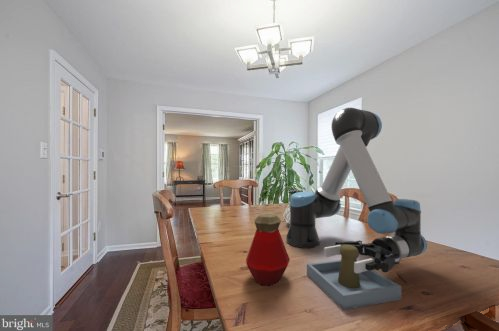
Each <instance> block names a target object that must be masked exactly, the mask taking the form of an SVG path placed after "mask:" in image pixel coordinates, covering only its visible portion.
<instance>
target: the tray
mask: <svg viewBox="0 0 499 331" xmlns="http://www.w3.org/2000/svg"><path fill="white" fill-rule="evenodd" d="M340 263H341V259H338V260H337V259H336V260H329V261H320V262H310V263H306V275H307V276H308V277H309V278H310V279H311V280H312V281H313V282H314V284H316V285H317V286H318V287H319V288H320V289H321V290H322V291H323V292H324V293H325V294H326V295H328V296H329V298H330V299H331V300H333V301H334V303H336V305H338V306H339V307H340V308H341V309H342V310H343V311H346V310H350V309H349V308H352V309H358V308H362V306H363V307H367V306H368V305H369V306H372V305H373V304H374V305H378V304H379V303H380V304H384V303H388V302H389V303H390V302H391V303H392V302H395V301H396V302H397V301H401V300H402V286H401V285H399V284H398V283H396V282H394V281H393V280H391V279H389V278H388V277H386V276H384V275H382V274H381V273H379V272H377V270H376V271H375V269H374V270H368V271H364V272H360V273H359V280H360V287H359V288H347V287H344V286H342V285H341V284H340V283H339V282H338V277H339V270H340ZM380 304H379V305H380ZM374 305H373V306H374ZM355 307H356V308H355ZM345 309H346V310H345Z"/></svg>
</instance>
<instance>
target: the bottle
mask: <svg viewBox="0 0 499 331" xmlns="http://www.w3.org/2000/svg"><path fill="white" fill-rule="evenodd" d="M253 221H254V225H255V228H256V230H255V233H254V236H253V239H252V242H251V244H250V247H249V250H248V252H247V254H246V255H247V256H246V259H245V262H246V266H247V268H248V271H249V272H250V274H251V277H252V278H253V280H254V282H255V283H257V284H259V285H260V286H266V287H272V286H275V285H277V284H278V283H280V281H281V280H282V278H283V276H284V274H285V271H286V270H287V268H288V266H289V264H290V260H291V259H290V257H289V254H288V252H287V249H286V248H287V247H286V246H285V243H284V240H283V238H282V236H281V232H280V230H279V228H280V224H281V222H282V220H281V218H280V217H279V216H278V215H277V214H276V213H273V212H263V214H262V213H260V214H258V215H257V217H256V218H254V219H253Z"/></svg>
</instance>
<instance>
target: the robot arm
mask: <svg viewBox="0 0 499 331" xmlns="http://www.w3.org/2000/svg"><path fill="white" fill-rule="evenodd" d="M382 125H383V124H382V120H381V117H380V116H379V115H378V114H377V113H374V112H372V111H371V110H370V111H368V110H365V109H360V108H355V107H346V108H343V109H341V110H339V111H338V112H337V113H336V114H335V115H334V117H333V118H332V121H331V134H332V136H333V138H334V141H335V143H336V144H337V145H338V146H339V147H338V150H337V151H336V154H335V156H334V158H333V160H332V163H331V165H330V166H329V170H328V171H327V174H326V176H325V178H324V181H323V182H322V185H320V186H318V187H317V188H316V190H315V192H313V191H298V192H295V193H293V194H292V193H291V195H290V200H289V201H290V202H289V227H288V231H287V233H286V236H285V237H286V239H285V240H286V243H287V244H288V245H290V246H293V247H297V248H303V249H311V248H317V247H318V246H319V245H320V237H319V235H318V231H317V228H316V219H320V218H328V217H329V218H330V217H333V216H335V215H337V214H338V213H339V212H340V210H341V206H342V204H341V194H340V193H341V190H342V189H343V187H344V184H345V182H346V180H347V179H348V176H349V175H350V172H352V175H353V177H354V179H355V182H356V184H357V186H358V189H359V190H360V193H361V196H362V197H363V199H364V201H365V205H366V206H367V208H368V211H369V213H368V214H367V218H366V219H367V220H366V222H367V224H368V226H369V228H370V229H371V230H372V231H373V232H375V233H376V234H381V235H382V234H383V235H384V234H391V235H387V236H383V237H377V238H374V239H373V240H372V241H371V243H369V242H368V243H363V241H362V240H354V241H353V240H352V241H351V240H350V241H335V242H334V243H335V244H334V245H330V246H325V247H324V248H323V250H324V251H323V253H324V254H323V256H324V258H328V257H331V256H333V257H334V256H337V255H341V254H340V247H341V246H342V245H352V246H355V247H356V248H357V249H358V252H359V255H361V256H365V257H366V256H367V257H370V258H367V259H362V260H357V262H354V272H355V273H356V274H357V273H360V272H364V271H368V270H374V271H375V270H376V271H380V270H381V271H382V272H383V273H386V274H387V273H388V272H390V270H392V268H394V266H395V265H400V260H401V259H408V258H410V257H416V256H420V255H421V254H423V253H425V252H426V251H427V249H428V242H427V240H426V238H425V237H424V236H423V234H422V233H421V232H422V231H421V229H422V228H421V227H422V226H421V223H422V222H421V220H422V219H421V215H422V214H421V213H422V211H421V203H420V202H419V201H418V200H415V199H407V198H403V199H402V198H400V199H399V198H396V199H395V200H394V202H393V199H392V198H391V196H390V194H389V192H388V190H387V188H386V185H385V183H384V181H383V180H382V178H381V175H380V173H379V171H378V170H377V167H376V165H375V163H374V161H373V158H372V156H371V154H370V153H369V150H368V148H367V147H368V145H369V144H370V142H371V140H374V139H375V138H377V137H378V136H379V134H380V133H381V132H382V128H383V126H382ZM382 272H381V273H382Z"/></svg>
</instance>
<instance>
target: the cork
mask: <svg viewBox="0 0 499 331" xmlns="http://www.w3.org/2000/svg"><path fill="white" fill-rule="evenodd" d="M340 255H341V257H340V260H341V263H340V270H339V277H338V282H339V283H340V284H341V285H342V286H344V287H347V288H359V287H360V280H359V273H357V274H356V273H355V272H354V262H357V261H358V260H357V259H358V257H359V255H360V254H359V252H358V249H357V248H356V247H355V246H352V245H342V246H341V247H340Z"/></svg>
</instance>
